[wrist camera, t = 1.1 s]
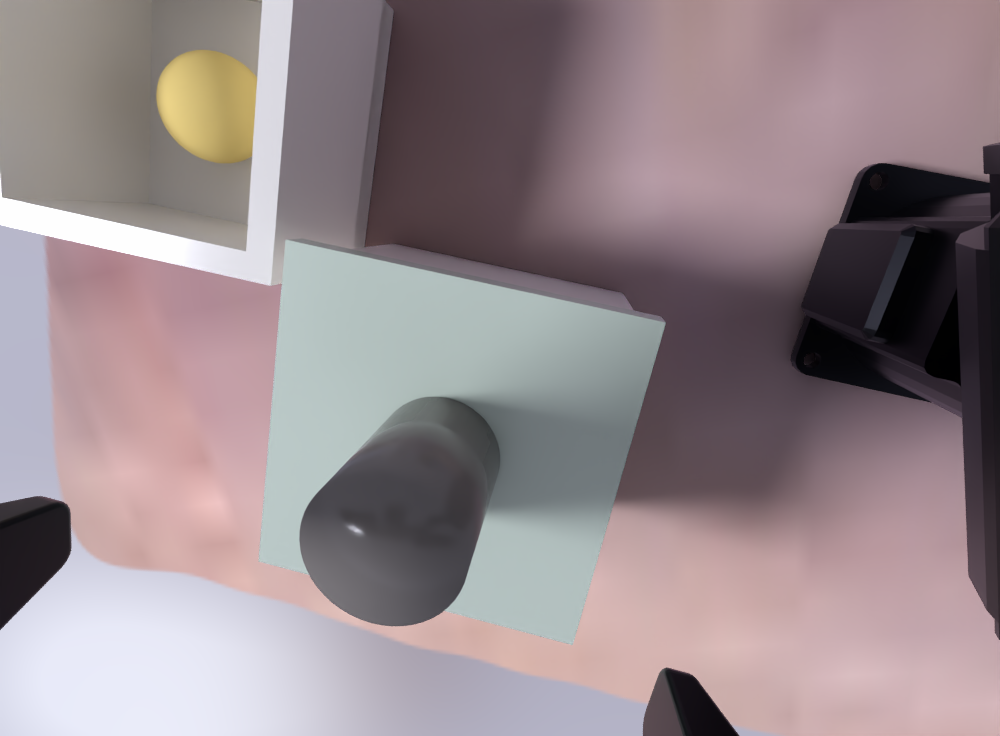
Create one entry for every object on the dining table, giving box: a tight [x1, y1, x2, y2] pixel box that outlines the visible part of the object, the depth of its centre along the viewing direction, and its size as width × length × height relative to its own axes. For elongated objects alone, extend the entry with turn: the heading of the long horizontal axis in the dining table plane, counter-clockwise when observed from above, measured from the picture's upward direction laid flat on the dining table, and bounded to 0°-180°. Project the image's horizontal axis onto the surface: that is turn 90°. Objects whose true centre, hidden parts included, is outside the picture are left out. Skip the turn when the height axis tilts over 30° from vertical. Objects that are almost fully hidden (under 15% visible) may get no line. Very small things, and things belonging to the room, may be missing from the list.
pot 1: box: [0, 0, 394, 286], centre depth 16 cm, size 8×8×6 cm
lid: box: [259, 239, 666, 645], centre depth 12 cm, size 9×9×5 cm
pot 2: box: [353, 244, 633, 310], centre depth 17 cm, size 8×8×6 cm
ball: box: [156, 50, 257, 164], centre depth 16 cm, size 3×3×3 cm
